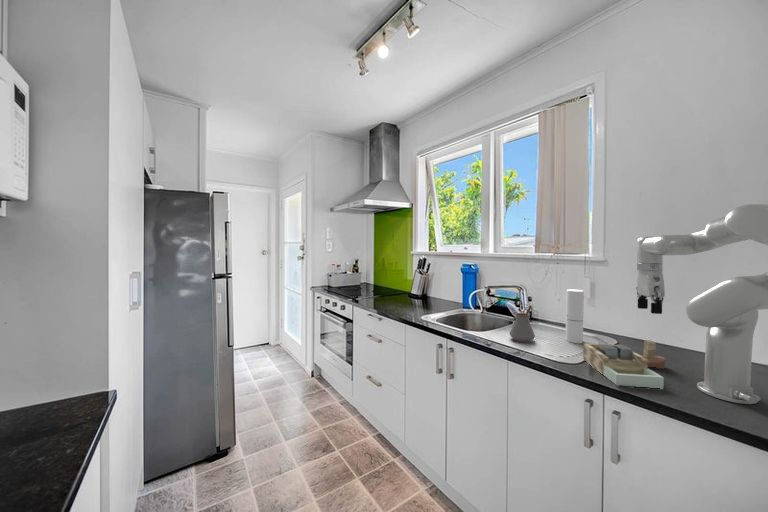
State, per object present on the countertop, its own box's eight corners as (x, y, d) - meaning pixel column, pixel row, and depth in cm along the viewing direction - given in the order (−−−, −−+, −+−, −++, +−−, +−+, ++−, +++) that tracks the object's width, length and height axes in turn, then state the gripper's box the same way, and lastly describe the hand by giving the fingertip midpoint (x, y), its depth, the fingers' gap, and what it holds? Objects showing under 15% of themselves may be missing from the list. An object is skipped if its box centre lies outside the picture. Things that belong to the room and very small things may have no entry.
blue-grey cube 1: (632, 360, 109) (632, 349, 109) (620, 359, 110) (620, 349, 110) (625, 356, 113) (625, 345, 113) (613, 355, 114) (614, 345, 114)
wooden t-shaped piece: (664, 368, 113) (665, 342, 113) (638, 367, 115) (638, 341, 115) (659, 366, 116) (660, 340, 115) (634, 364, 117) (634, 339, 117)
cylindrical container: (577, 338, 149) (578, 289, 148) (585, 343, 142) (587, 291, 140) (562, 338, 149) (563, 289, 148) (570, 343, 142) (571, 291, 141)
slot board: (647, 379, 105) (648, 359, 105) (603, 376, 107) (603, 357, 107) (621, 362, 120) (621, 345, 119) (583, 360, 122) (583, 343, 122)
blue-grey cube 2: (617, 359, 110) (617, 348, 110) (605, 358, 111) (605, 348, 111) (611, 355, 114) (611, 345, 114) (599, 354, 115) (599, 344, 114)
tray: (663, 389, 98) (663, 377, 97) (615, 386, 100) (616, 374, 100) (647, 379, 105) (647, 367, 105) (603, 376, 107) (603, 365, 107)
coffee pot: (531, 345, 140) (531, 314, 139) (506, 340, 147) (506, 310, 146) (542, 334, 156) (543, 306, 155) (519, 330, 163) (520, 303, 162)
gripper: (675, 269, 107) (675, 316, 108) (648, 266, 124) (648, 307, 124) (650, 269, 110) (649, 315, 110) (627, 266, 126) (627, 306, 126)
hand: (649, 310), depth 117 cm, fingers open, 9 cm apart
